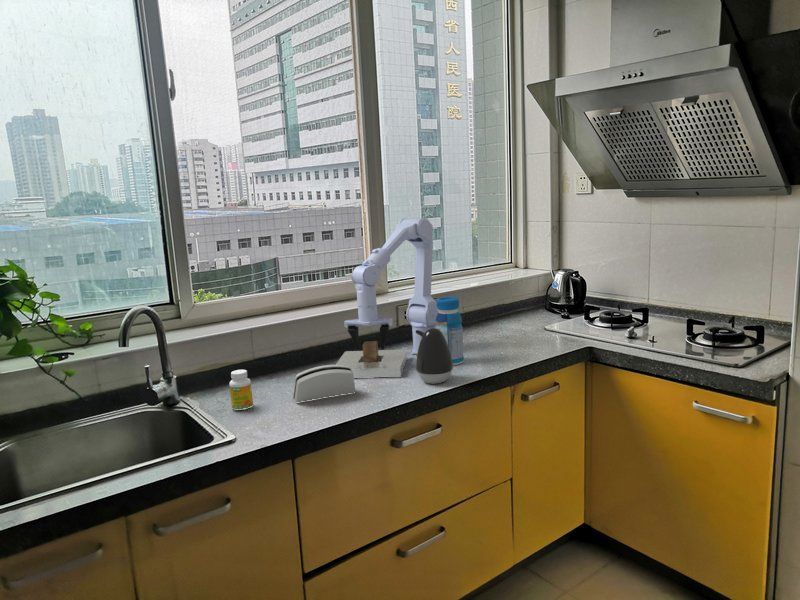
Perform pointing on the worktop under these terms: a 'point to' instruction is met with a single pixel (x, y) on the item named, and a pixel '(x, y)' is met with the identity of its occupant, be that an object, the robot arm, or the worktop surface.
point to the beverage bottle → (451, 326)
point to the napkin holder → (323, 382)
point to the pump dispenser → (433, 357)
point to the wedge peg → (370, 351)
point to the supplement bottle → (240, 390)
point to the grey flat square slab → (375, 363)
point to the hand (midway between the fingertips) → (370, 349)
